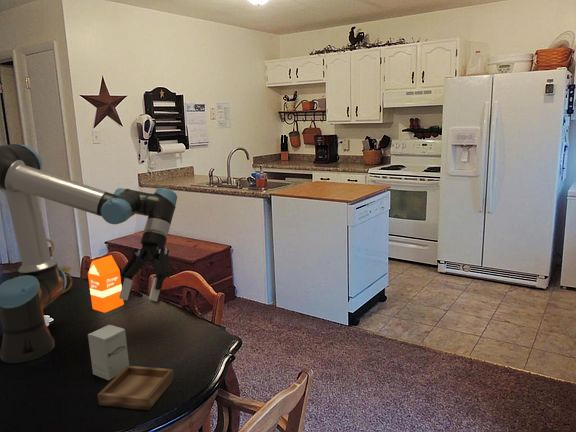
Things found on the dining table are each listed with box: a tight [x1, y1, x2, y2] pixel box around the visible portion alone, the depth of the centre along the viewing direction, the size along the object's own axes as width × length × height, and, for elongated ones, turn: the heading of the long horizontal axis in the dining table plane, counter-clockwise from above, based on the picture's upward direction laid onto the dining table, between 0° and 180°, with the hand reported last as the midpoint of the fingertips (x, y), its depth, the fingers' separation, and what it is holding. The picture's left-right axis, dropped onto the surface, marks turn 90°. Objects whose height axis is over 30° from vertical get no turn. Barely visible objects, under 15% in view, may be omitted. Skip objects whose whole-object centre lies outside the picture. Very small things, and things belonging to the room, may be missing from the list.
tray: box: [97, 365, 175, 411], centre depth 121 cm, size 14×14×3 cm
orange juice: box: [87, 254, 125, 314], centre depth 177 cm, size 8×9×20 cm
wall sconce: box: [46, 237, 73, 294], centre depth 191 cm, size 14×10×25 cm
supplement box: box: [87, 324, 130, 381], centre depth 131 cm, size 7×7×13 cm
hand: (137, 300), depth 139 cm, fingers open, 13 cm apart
